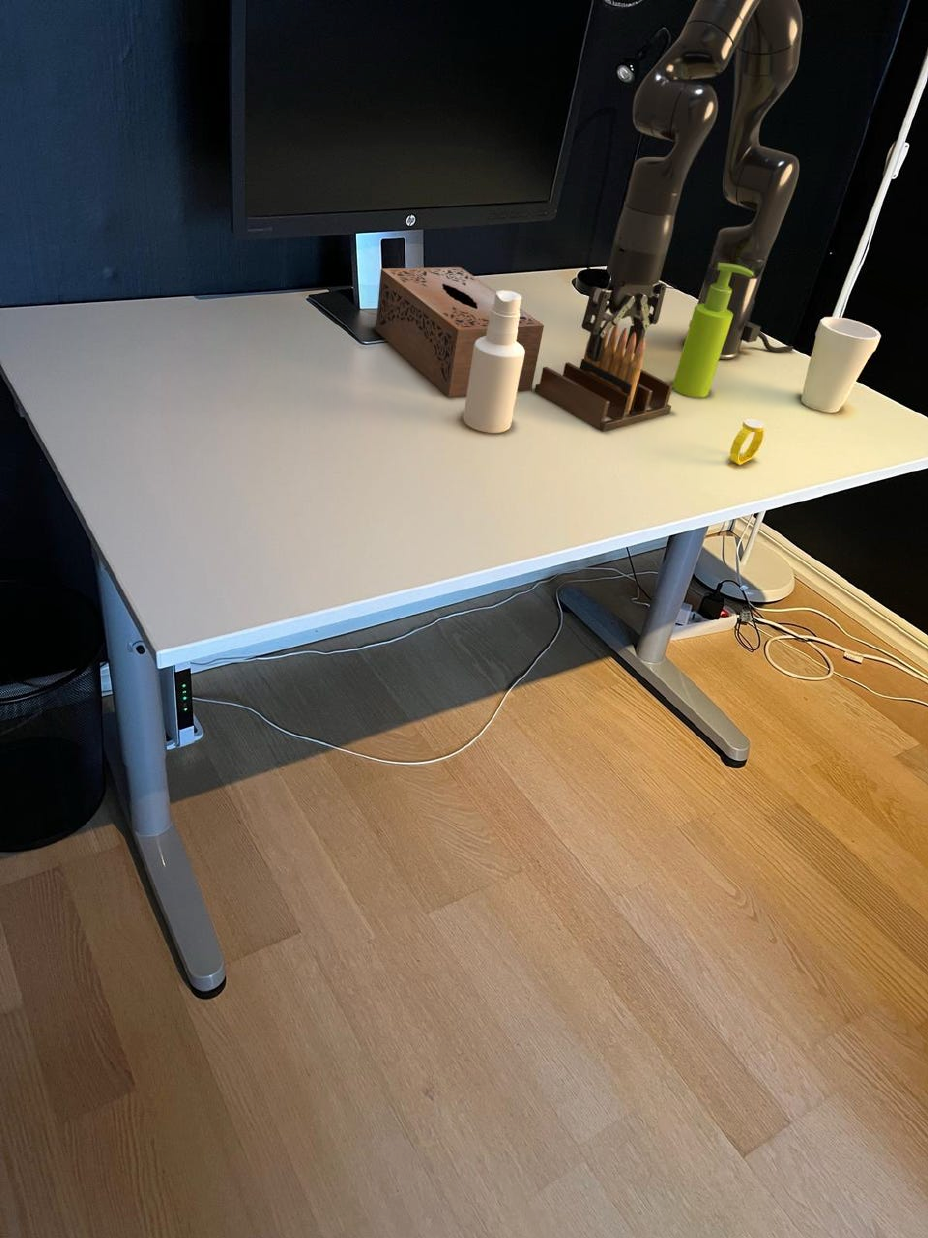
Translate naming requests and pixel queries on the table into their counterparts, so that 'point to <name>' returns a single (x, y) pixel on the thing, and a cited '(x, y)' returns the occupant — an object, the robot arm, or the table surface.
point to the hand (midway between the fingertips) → (612, 355)
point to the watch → (747, 429)
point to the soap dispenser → (706, 336)
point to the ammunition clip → (618, 363)
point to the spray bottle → (496, 368)
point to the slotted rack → (603, 397)
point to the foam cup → (837, 361)
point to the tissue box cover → (445, 323)
